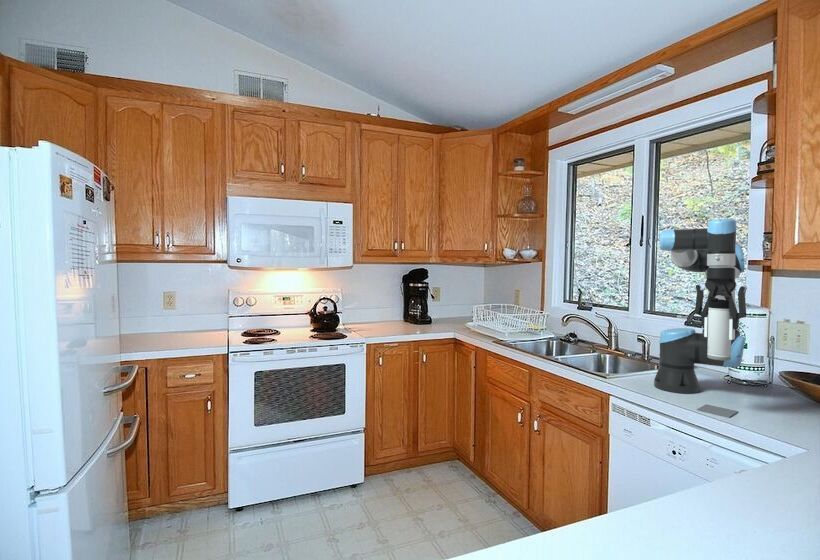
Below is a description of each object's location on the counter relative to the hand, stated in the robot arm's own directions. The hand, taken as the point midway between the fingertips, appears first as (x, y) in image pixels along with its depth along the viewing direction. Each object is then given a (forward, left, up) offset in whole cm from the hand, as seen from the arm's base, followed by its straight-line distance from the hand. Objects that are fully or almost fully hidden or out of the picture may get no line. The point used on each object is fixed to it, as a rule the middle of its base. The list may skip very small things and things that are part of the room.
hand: (719, 337), depth 141 cm
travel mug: (0, 0, -7) cm, 7 cm away
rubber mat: (0, 0, -24) cm, 24 cm away
